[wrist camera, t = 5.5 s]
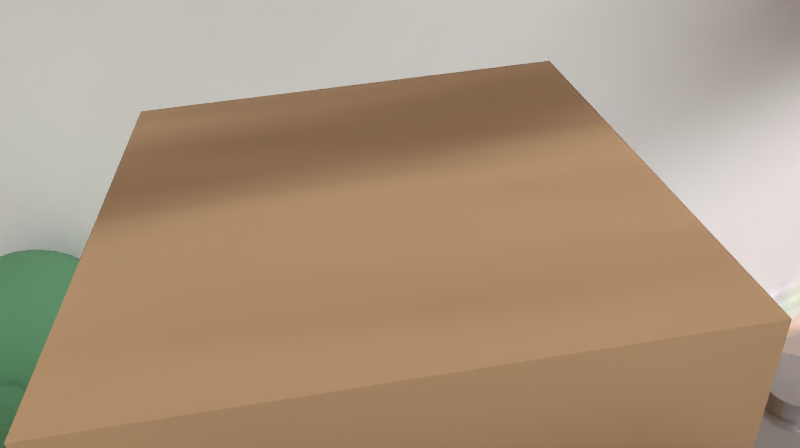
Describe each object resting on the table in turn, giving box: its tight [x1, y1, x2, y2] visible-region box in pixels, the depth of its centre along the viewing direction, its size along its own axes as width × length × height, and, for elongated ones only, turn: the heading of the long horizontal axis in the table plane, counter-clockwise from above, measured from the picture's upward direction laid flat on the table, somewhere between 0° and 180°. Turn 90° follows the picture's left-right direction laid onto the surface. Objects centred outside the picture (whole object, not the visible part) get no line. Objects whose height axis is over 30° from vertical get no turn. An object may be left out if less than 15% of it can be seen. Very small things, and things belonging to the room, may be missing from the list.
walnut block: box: [4, 61, 791, 448], centre depth 9 cm, size 6×6×6 cm
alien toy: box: [0, 250, 80, 448], centre depth 28 cm, size 7×8×10 cm
